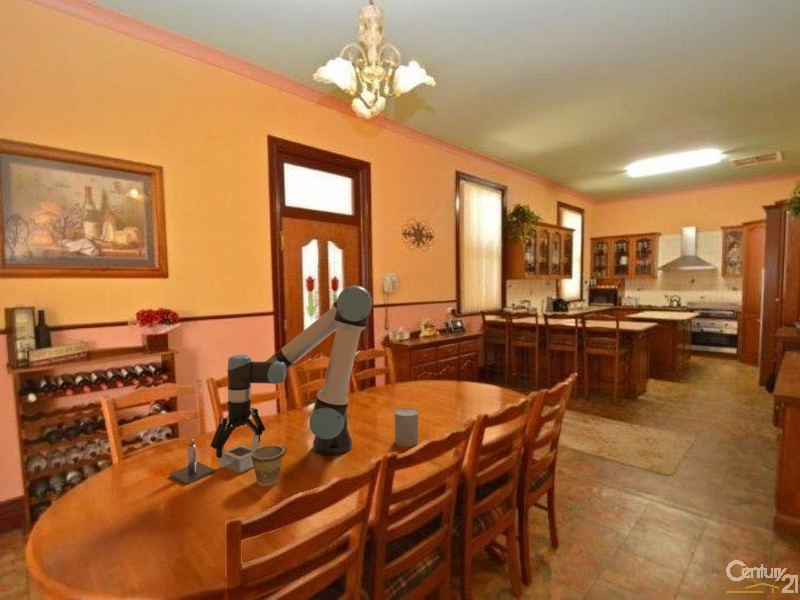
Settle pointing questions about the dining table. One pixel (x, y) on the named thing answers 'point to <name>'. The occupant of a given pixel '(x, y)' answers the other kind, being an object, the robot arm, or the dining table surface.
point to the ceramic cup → (268, 464)
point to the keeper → (191, 468)
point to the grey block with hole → (239, 458)
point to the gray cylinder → (406, 427)
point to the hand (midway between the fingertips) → (239, 458)
